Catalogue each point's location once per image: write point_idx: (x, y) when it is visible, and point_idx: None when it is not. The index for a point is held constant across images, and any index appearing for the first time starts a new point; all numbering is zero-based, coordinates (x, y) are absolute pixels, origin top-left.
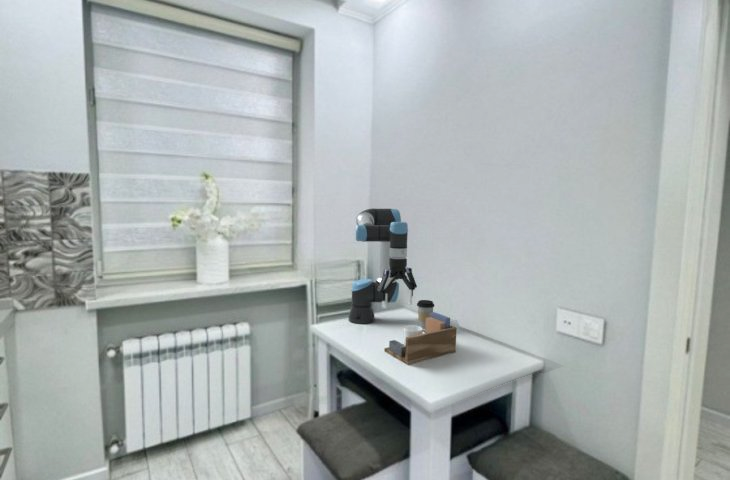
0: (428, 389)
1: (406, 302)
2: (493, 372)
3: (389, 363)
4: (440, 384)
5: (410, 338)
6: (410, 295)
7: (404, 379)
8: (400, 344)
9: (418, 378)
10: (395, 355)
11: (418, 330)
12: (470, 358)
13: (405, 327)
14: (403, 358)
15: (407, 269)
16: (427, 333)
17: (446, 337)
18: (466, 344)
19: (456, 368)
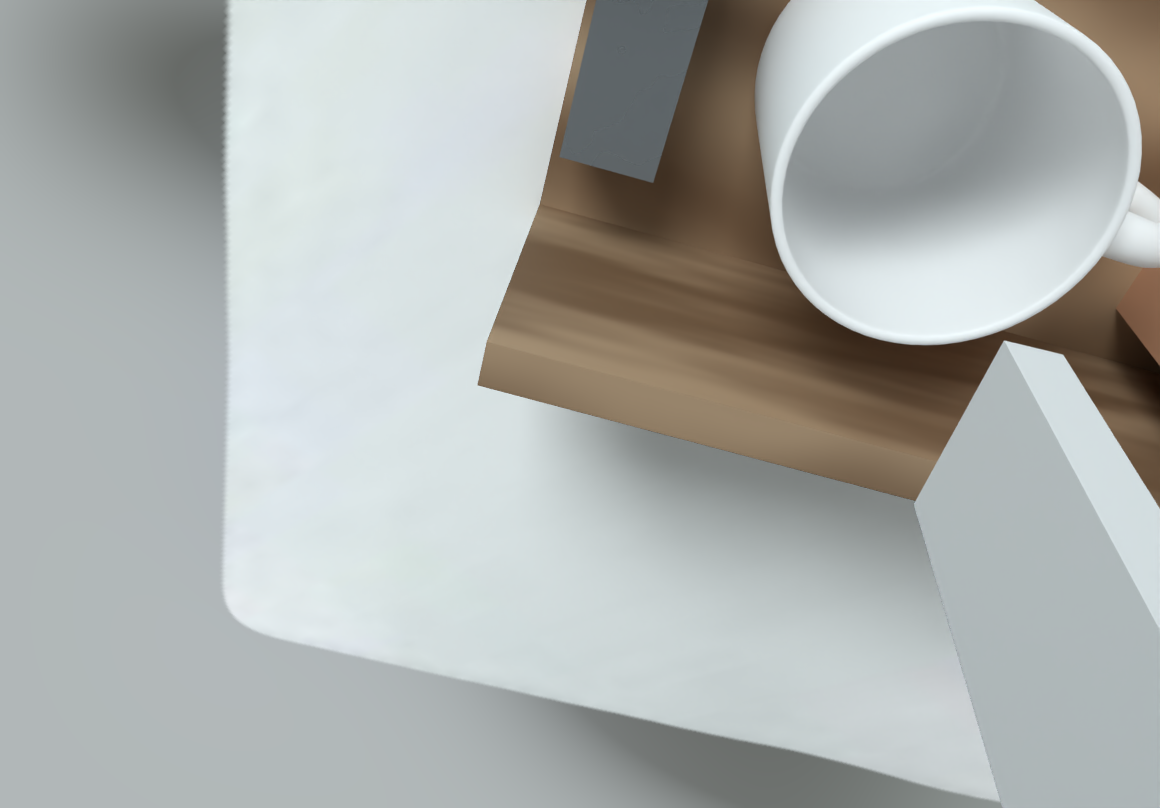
0: (327, 556)
1: (1011, 360)
2: (910, 735)
3: (411, 55)
4: (453, 578)
5: (520, 392)
6: (992, 764)
7: (287, 372)
8: (649, 67)
9: (396, 437)
10: (587, 3)
11: (1090, 177)
12: None
13: (939, 24)
14: (560, 161)
15: None
16: (858, 466)
17: None
18: None
19: (798, 555)
